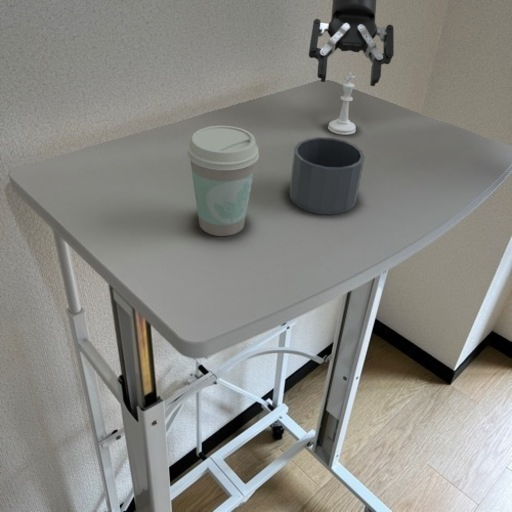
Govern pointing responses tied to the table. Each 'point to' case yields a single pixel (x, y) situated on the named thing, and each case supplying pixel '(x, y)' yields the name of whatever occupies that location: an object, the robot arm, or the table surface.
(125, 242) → the table surface
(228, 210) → the coffee cup
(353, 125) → the chess piece
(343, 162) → the tumbler
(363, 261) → the table surface
